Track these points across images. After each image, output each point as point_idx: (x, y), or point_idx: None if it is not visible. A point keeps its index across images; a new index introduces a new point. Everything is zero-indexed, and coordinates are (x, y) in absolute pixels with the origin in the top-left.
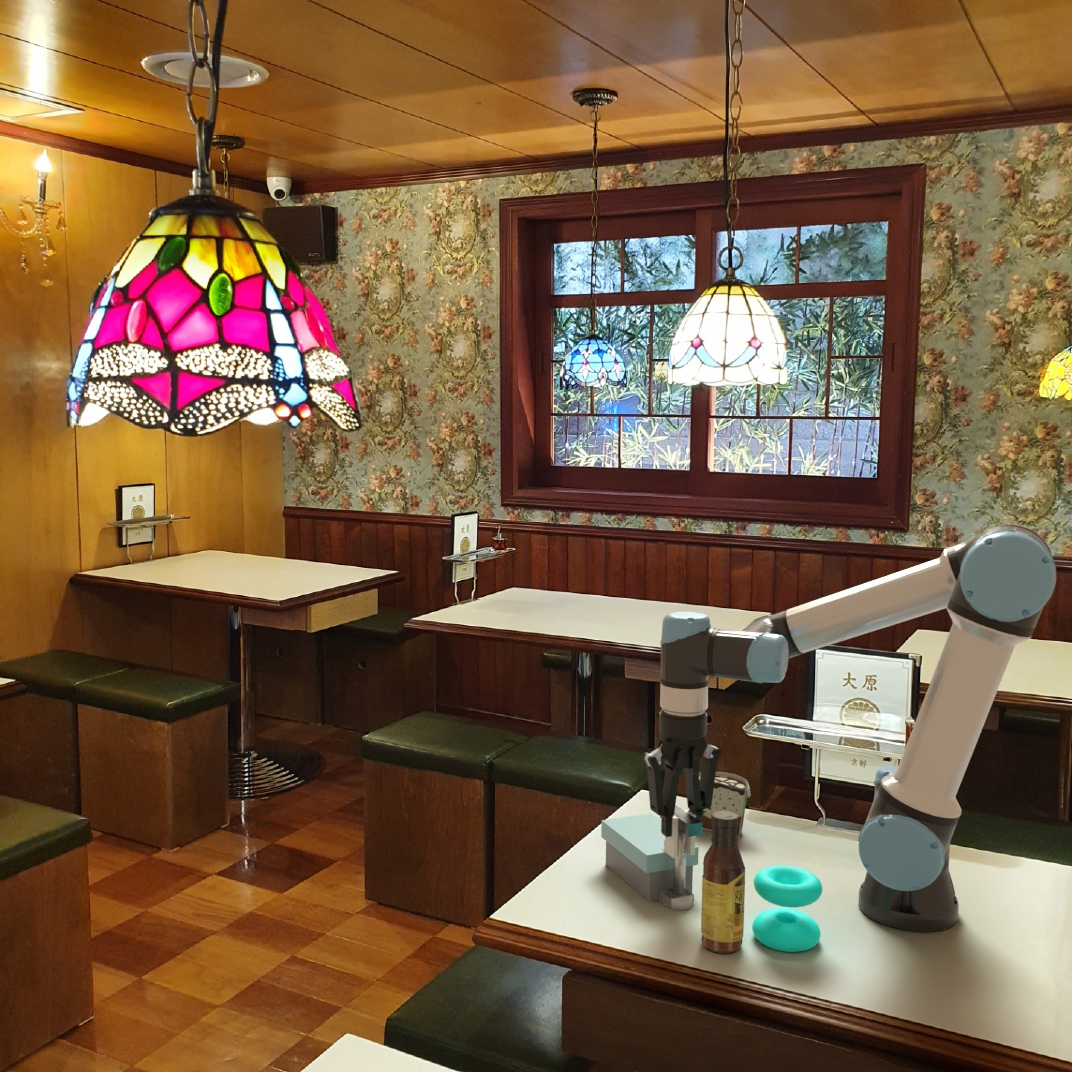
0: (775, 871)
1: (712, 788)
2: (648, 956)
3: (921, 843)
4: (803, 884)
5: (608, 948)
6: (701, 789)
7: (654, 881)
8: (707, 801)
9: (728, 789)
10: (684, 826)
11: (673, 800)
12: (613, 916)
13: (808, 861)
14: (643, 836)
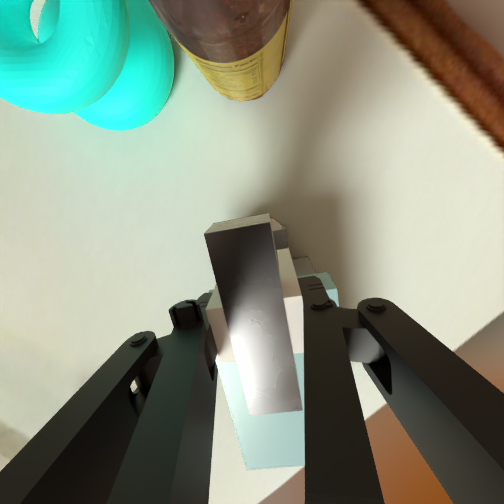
0: (40, 51)
1: (72, 403)
2: (397, 40)
3: None
4: None
5: (455, 90)
6: (134, 423)
7: (303, 270)
8: (135, 351)
9: None
10: (274, 246)
11: (319, 344)
12: (389, 215)
13: (16, 339)
14: (302, 379)
